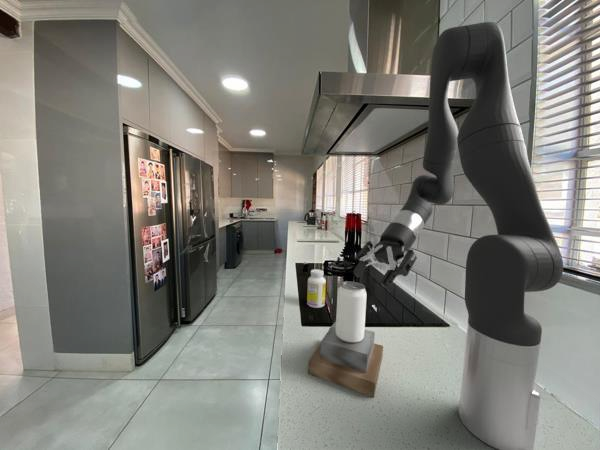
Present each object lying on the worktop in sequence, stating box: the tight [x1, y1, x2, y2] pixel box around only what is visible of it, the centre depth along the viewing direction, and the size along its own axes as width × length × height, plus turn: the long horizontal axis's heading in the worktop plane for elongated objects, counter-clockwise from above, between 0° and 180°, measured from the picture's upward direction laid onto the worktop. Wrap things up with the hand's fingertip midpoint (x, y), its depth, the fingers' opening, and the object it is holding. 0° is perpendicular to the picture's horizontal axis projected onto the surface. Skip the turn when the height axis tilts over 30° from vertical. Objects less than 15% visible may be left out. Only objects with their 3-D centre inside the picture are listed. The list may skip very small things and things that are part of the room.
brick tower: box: [307, 321, 384, 398], centre depth 56 cm, size 14×14×7 cm
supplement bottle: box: [306, 268, 327, 309], centre depth 89 cm, size 7×7×13 cm
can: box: [335, 281, 368, 343], centre depth 55 cm, size 6×6×12 cm
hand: (368, 280), depth 58 cm, fingers open, 8 cm apart
